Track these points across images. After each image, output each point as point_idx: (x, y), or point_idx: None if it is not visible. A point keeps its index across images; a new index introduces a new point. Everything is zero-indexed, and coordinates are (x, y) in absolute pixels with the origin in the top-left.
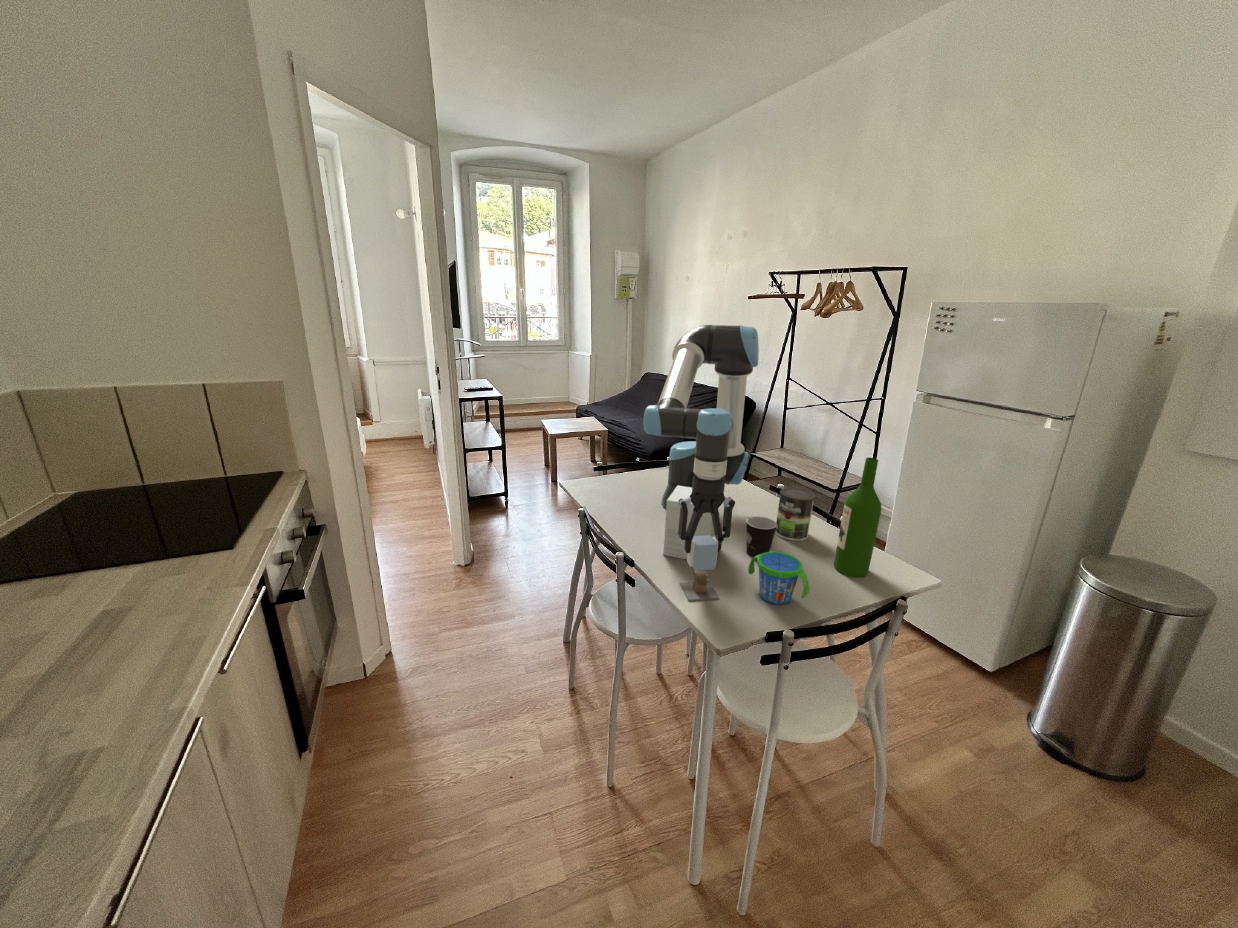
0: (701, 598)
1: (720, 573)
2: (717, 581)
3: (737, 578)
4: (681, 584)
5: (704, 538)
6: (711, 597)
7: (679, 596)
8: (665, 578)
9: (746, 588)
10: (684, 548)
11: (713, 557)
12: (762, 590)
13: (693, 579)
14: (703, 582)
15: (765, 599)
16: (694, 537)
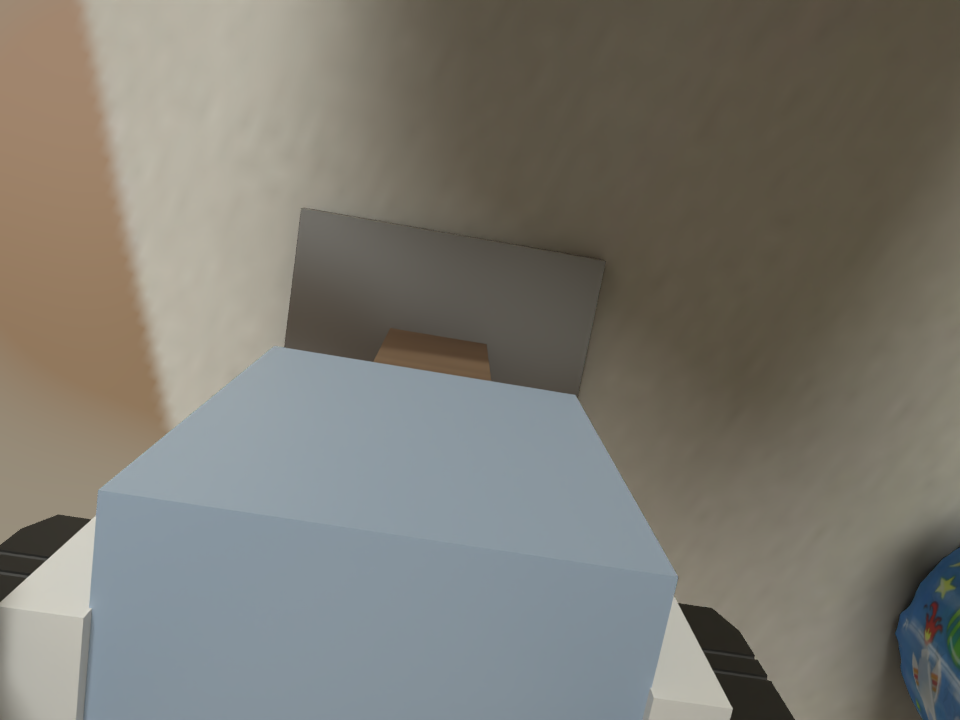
0: None
1: (802, 144)
2: (686, 274)
3: (905, 280)
4: (302, 250)
5: (426, 699)
6: None
7: None
8: (195, 69)
9: (872, 453)
10: (15, 536)
11: None
12: (926, 686)
13: (381, 346)
14: None
15: (901, 665)
16: (184, 586)
